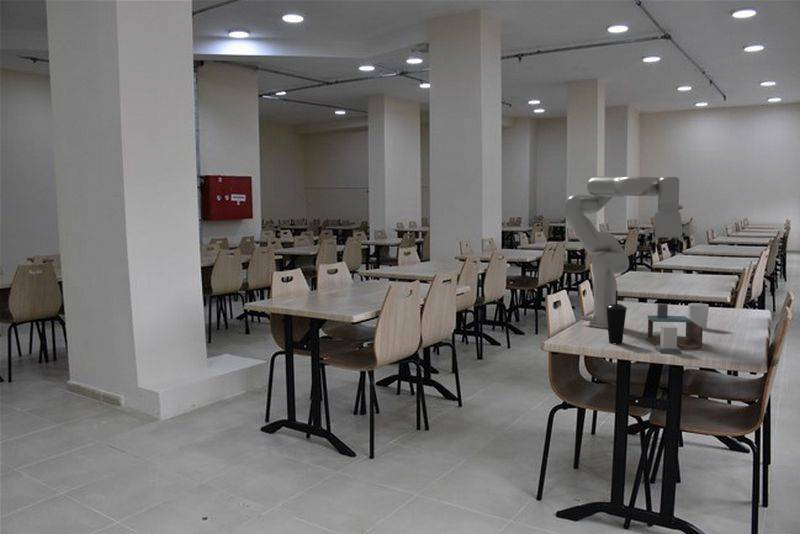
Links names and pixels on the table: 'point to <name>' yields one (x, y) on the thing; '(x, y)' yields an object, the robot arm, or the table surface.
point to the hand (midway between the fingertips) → (666, 252)
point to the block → (668, 336)
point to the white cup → (698, 313)
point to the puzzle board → (688, 342)
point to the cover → (663, 316)
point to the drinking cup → (616, 321)
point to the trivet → (667, 350)
